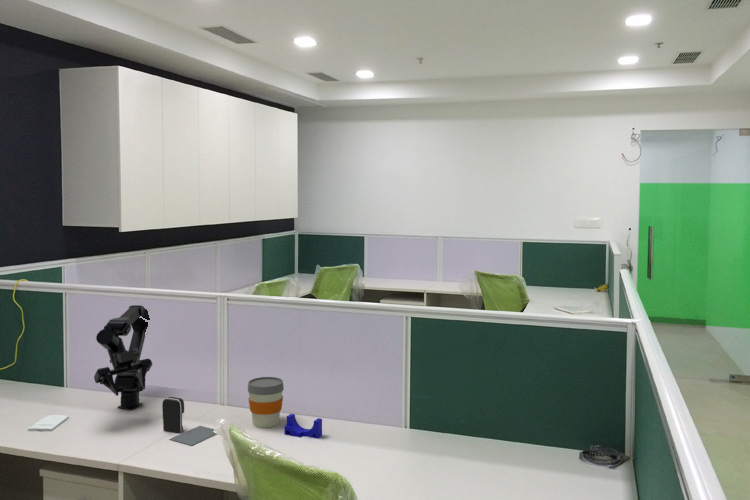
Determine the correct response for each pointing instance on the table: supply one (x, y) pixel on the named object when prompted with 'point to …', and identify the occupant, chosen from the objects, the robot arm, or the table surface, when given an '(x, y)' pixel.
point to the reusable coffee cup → (265, 400)
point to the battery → (172, 414)
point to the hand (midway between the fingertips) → (131, 392)
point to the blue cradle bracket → (298, 431)
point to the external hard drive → (48, 423)
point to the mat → (194, 435)
